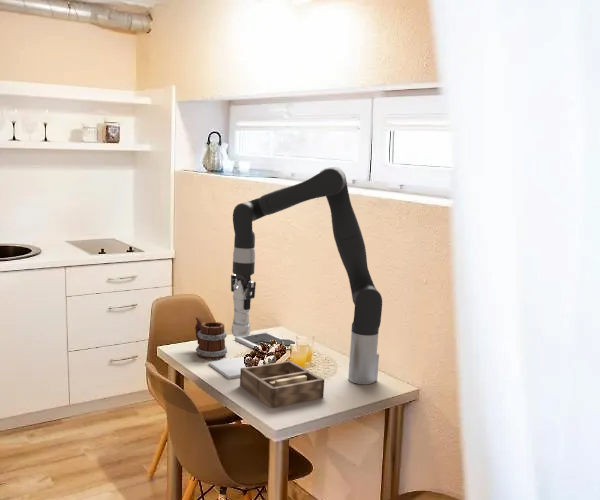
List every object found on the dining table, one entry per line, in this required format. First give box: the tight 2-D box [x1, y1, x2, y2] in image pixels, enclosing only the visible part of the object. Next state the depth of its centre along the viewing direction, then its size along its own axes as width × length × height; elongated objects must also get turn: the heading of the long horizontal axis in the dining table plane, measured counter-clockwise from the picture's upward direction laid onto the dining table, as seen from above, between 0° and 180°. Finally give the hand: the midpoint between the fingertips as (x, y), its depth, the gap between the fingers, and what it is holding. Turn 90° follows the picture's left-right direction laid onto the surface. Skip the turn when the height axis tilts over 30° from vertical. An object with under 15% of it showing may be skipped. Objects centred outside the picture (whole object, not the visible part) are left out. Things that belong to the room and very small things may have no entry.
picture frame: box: [234, 331, 295, 349], centre depth 259 cm, size 16×3×21 cm
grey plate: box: [208, 356, 246, 380], centre depth 229 cm, size 16×16×1 cm
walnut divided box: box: [239, 360, 325, 409], centre depth 209 cm, size 19×20×6 cm
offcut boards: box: [269, 375, 307, 387], centre depth 204 cm, size 14×5×6 cm, turn 123°
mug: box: [194, 316, 228, 361], centre depth 242 cm, size 12×14×15 cm
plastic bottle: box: [231, 281, 252, 338], centre depth 226 cm, size 6×7×20 cm
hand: (242, 307), depth 226 cm, fingers closed on plastic bottle, 6 cm apart
